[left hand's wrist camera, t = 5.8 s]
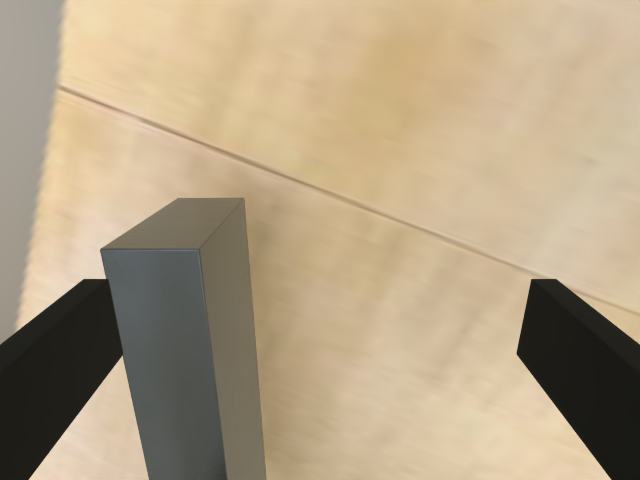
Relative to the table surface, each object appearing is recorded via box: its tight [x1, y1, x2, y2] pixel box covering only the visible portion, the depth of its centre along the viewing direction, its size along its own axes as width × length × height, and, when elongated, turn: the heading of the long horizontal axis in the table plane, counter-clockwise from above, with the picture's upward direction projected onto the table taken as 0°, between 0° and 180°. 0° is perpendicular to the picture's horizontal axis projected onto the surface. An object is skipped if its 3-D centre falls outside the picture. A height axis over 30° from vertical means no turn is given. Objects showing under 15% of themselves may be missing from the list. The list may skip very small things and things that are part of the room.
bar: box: [100, 198, 266, 480], centre depth 28 cm, size 34×4×10 cm, turn 1°
